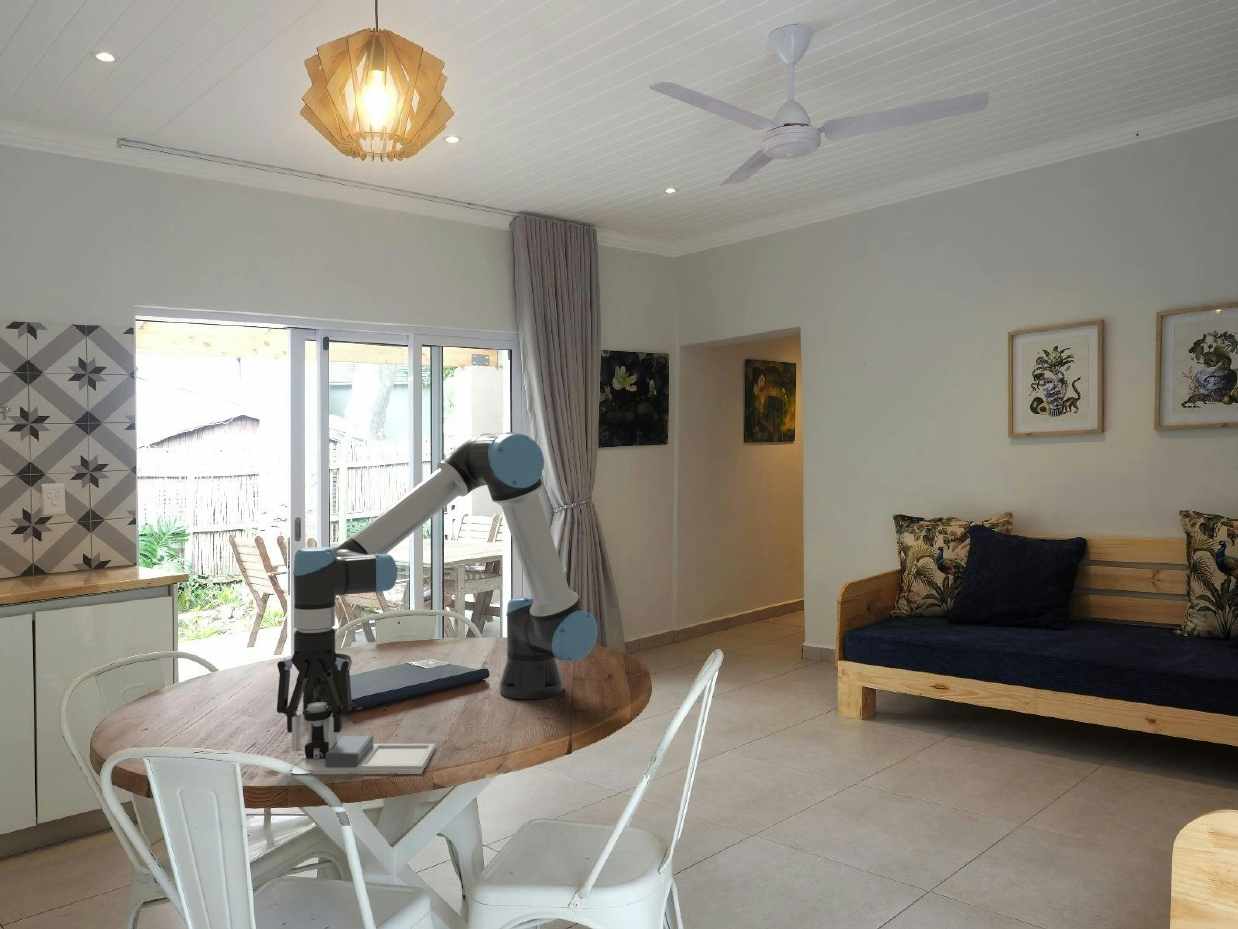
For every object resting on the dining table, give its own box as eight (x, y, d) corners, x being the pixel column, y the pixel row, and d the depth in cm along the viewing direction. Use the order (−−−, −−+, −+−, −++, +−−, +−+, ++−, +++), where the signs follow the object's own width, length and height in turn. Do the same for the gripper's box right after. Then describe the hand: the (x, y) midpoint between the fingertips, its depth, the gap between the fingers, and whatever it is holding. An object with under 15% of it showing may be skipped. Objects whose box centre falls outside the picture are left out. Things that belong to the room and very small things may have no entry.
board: (435, 749, 182) (435, 742, 182) (421, 774, 168) (421, 767, 168) (314, 749, 182) (314, 743, 182) (290, 774, 168) (290, 767, 168)
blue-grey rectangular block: (373, 748, 180) (373, 735, 180) (358, 767, 169) (358, 753, 169) (342, 748, 180) (342, 735, 180) (325, 767, 169) (325, 753, 169)
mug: (354, 703, 216) (354, 652, 215) (343, 721, 201) (342, 667, 201) (307, 704, 214) (307, 653, 214) (292, 722, 200) (291, 668, 200)
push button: (293, 762, 172) (291, 709, 172) (302, 752, 178) (301, 701, 177) (329, 760, 172) (327, 708, 172) (337, 751, 178) (335, 700, 178)
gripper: (370, 625, 179) (370, 742, 179) (271, 624, 178) (271, 742, 179) (359, 632, 171) (359, 755, 171) (256, 632, 171) (256, 755, 171)
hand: (314, 748), depth 175 cm, fingers closed on push button, 6 cm apart
